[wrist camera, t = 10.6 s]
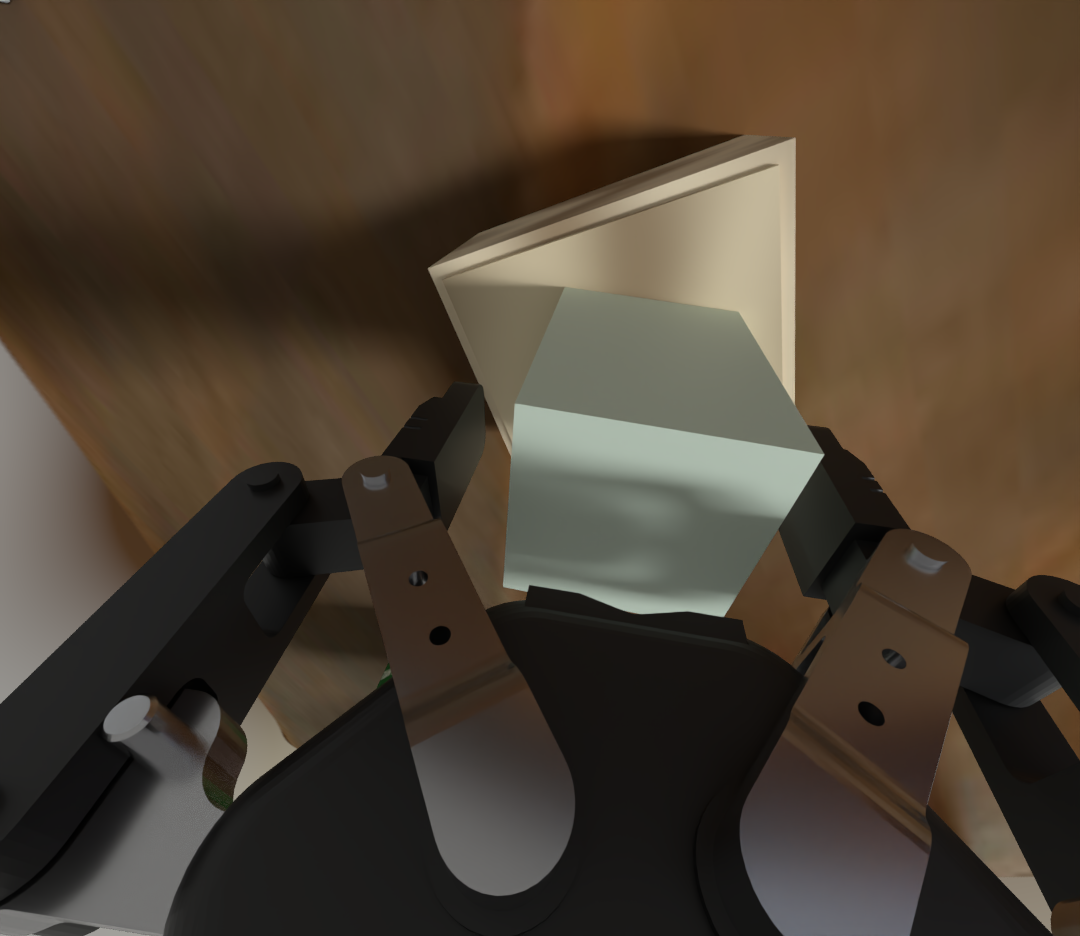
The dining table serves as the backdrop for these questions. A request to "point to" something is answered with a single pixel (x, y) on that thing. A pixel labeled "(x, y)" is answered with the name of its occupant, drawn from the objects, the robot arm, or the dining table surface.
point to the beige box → (634, 259)
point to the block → (650, 456)
